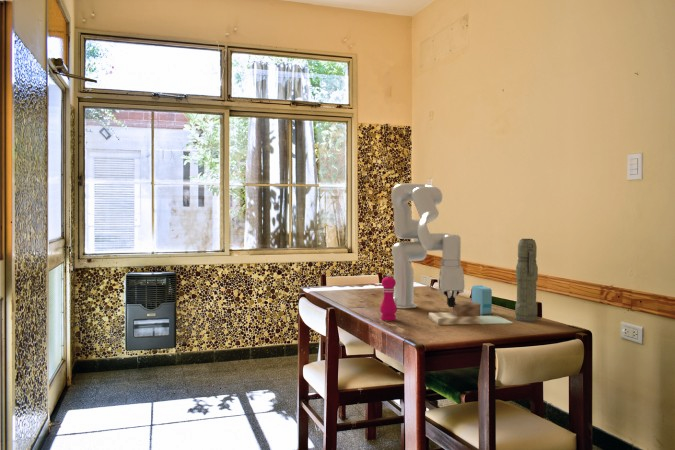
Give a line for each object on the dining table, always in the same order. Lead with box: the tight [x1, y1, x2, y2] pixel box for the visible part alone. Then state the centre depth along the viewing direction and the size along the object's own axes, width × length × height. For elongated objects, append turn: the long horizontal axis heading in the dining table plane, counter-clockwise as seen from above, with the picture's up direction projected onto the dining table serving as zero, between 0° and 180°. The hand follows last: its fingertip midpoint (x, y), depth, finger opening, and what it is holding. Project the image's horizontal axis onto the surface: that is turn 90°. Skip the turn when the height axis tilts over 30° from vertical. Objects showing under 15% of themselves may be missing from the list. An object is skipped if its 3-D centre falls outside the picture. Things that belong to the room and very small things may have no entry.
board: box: [428, 311, 481, 326], centre depth 232 cm, size 18×13×2 cm
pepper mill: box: [379, 272, 398, 322], centre depth 235 cm, size 7×7×20 cm
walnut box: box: [452, 301, 481, 317], centre depth 232 cm, size 10×6×5 cm, turn 96°
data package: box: [471, 285, 493, 316], centre depth 251 cm, size 12×4×12 cm, turn 10°
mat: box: [477, 315, 514, 325], centre depth 234 cm, size 14×15×1 cm
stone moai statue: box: [514, 238, 539, 323], centre depth 235 cm, size 9×12×35 cm
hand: (451, 306), depth 232 cm, fingers closed
